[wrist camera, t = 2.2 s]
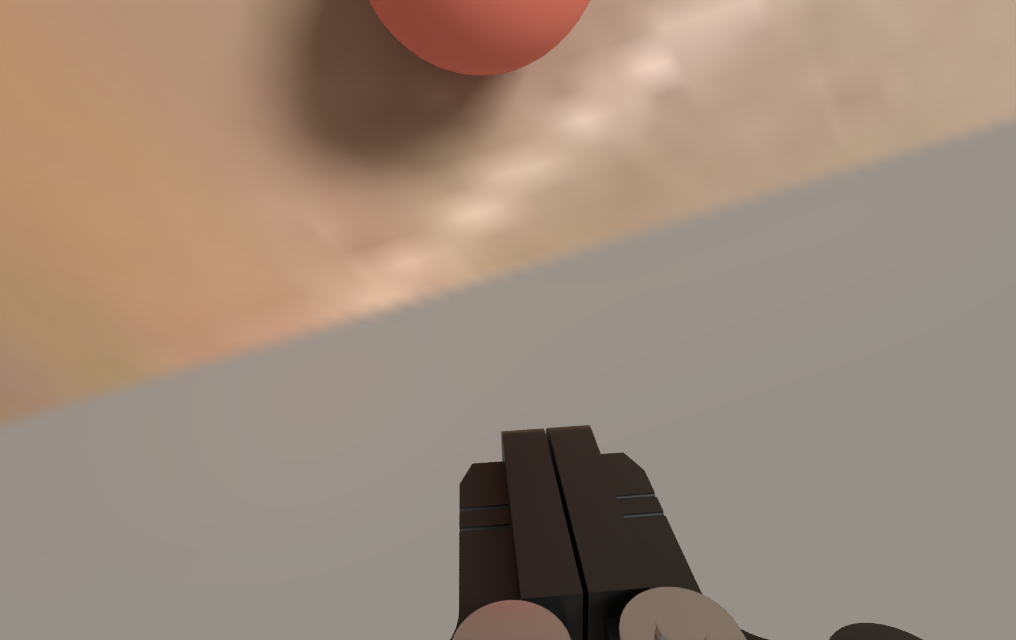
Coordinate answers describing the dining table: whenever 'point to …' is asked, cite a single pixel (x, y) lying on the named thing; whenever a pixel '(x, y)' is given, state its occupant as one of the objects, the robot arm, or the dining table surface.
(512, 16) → the ball
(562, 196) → the dining table surface
